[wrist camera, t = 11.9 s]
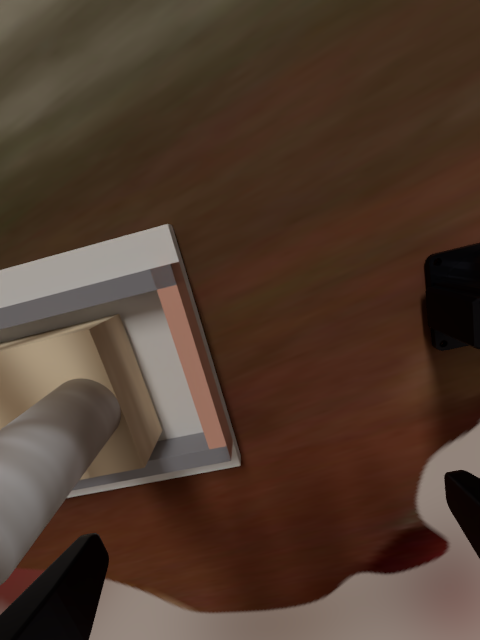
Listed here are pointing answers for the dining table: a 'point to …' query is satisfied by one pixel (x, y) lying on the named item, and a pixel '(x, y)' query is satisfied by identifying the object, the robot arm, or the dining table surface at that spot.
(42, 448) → the cylinder on cream base
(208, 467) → the bay
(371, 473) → the dining table surface
